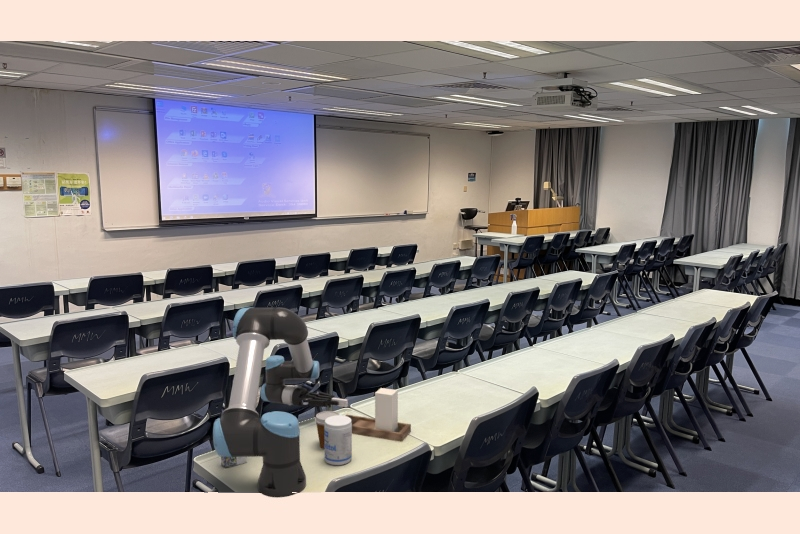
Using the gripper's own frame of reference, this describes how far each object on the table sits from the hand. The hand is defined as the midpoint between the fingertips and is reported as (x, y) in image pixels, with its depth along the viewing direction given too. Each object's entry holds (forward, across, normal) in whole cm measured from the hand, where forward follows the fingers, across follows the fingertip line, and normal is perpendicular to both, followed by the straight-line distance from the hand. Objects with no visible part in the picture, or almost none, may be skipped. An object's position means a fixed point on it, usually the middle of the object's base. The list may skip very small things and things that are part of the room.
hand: (346, 403), depth 231 cm
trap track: (+11, 0, -10) cm, 15 cm away
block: (+17, 0, -8) cm, 19 cm away
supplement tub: (+10, +27, -10) cm, 30 cm away
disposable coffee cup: (+2, +18, -10) cm, 21 cm away
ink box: (-23, +42, -10) cm, 49 cm away
